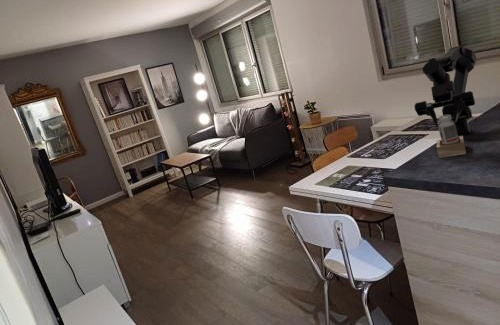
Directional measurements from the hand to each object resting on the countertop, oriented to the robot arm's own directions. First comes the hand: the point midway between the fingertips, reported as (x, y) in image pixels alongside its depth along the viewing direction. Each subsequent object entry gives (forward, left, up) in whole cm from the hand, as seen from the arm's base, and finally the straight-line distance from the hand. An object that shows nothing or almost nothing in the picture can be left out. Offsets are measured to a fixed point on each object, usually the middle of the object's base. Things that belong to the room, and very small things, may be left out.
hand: (445, 124), depth 126 cm
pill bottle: (-1, 0, -7) cm, 7 cm away
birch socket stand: (-1, 0, -11) cm, 11 cm away
